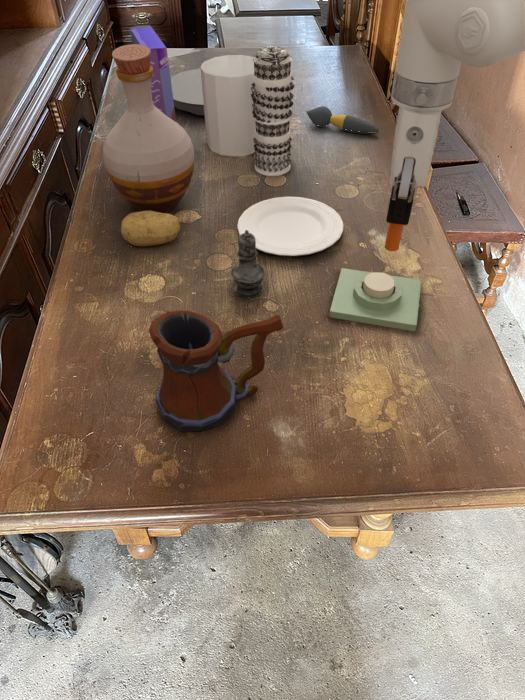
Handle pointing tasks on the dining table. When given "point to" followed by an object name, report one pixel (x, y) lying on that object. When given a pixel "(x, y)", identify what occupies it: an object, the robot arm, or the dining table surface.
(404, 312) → the push button block
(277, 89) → the decorative candle
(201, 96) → the flat disc
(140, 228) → the potato
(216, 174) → the dining table surface
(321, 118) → the paintbrush
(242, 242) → the chess piece
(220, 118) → the container
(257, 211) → the plate
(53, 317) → the dining table surface
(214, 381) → the mug
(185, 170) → the jug
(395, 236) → the marker
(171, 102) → the cereal box
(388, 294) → the circle pad
